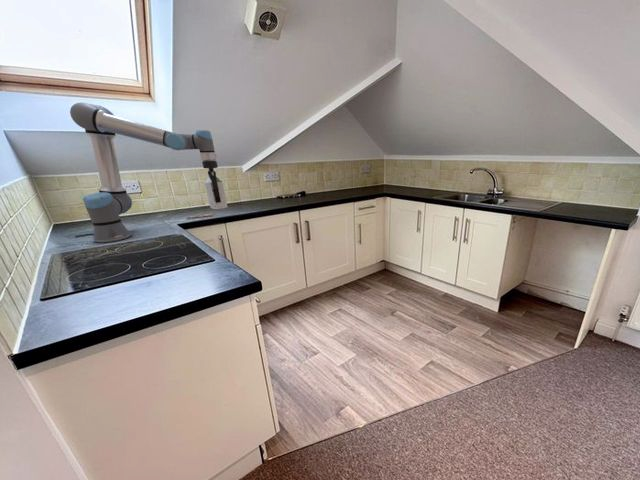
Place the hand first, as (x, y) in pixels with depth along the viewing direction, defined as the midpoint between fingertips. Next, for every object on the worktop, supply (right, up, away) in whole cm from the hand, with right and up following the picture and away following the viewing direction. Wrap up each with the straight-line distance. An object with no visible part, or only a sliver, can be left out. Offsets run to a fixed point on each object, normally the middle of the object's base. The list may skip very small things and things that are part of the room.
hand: (217, 201), depth 177 cm
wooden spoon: (-25, -4, +27) cm, 37 cm away
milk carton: (0, -4, +2) cm, 4 cm away
